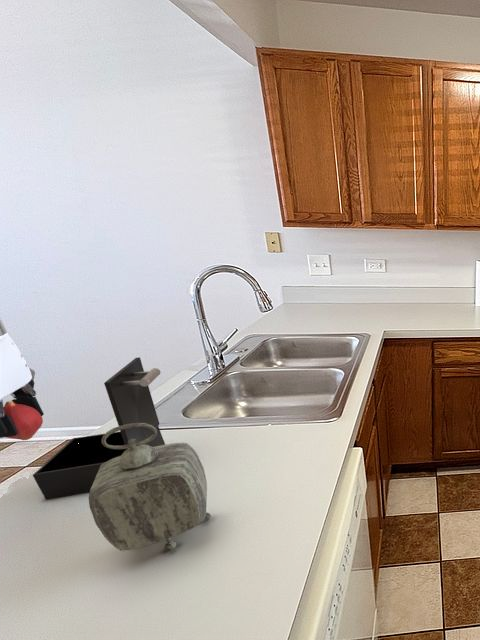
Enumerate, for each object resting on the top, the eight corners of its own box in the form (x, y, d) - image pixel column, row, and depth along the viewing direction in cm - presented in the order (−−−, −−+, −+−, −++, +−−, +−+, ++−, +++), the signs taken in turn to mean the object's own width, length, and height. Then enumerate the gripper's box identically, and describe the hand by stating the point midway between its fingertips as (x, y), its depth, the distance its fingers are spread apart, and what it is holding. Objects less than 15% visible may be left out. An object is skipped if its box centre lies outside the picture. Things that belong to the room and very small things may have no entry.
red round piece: (-5, 446, 71) (-27, 407, 68) (35, 429, 76) (16, 392, 73) (18, 450, 70) (-3, 411, 67) (57, 432, 75) (39, 395, 72)
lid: (103, 382, 79) (137, 380, 80) (135, 357, 91) (164, 355, 93) (129, 457, 85) (160, 453, 87) (155, 424, 97) (182, 421, 99)
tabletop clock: (218, 510, 80) (181, 402, 70) (218, 541, 73) (177, 426, 63) (126, 541, 73) (72, 425, 63) (117, 578, 66) (54, 455, 56)
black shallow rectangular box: (45, 500, 83) (32, 475, 81) (83, 460, 95) (73, 438, 93) (142, 483, 88) (132, 459, 85) (166, 447, 100) (158, 425, 98)
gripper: (-18, 319, 71) (26, 407, 78) (-114, 353, 56) (-48, 458, 63) (35, 316, 73) (73, 401, 80) (-44, 347, 58) (12, 449, 65)
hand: (19, 425), depth 72 cm, fingers closed on red round piece, 5 cm apart
